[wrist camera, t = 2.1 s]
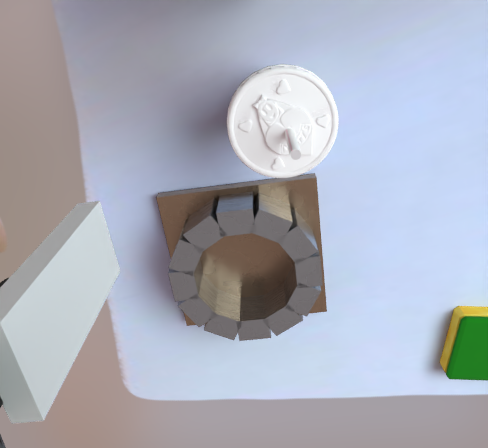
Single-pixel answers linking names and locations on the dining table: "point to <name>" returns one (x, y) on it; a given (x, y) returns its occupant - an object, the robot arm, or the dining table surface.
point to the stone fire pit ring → (246, 255)
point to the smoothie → (282, 121)
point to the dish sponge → (467, 344)
